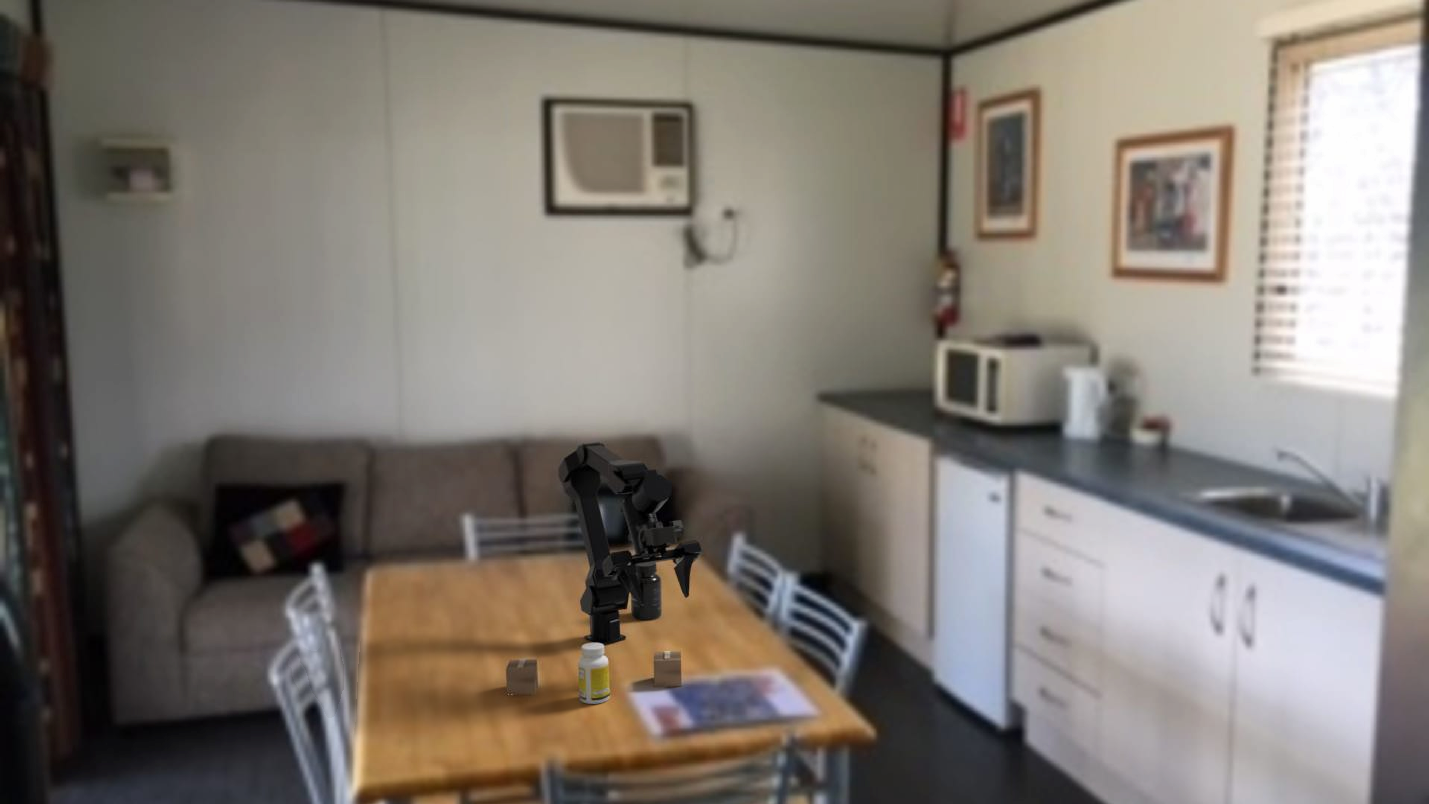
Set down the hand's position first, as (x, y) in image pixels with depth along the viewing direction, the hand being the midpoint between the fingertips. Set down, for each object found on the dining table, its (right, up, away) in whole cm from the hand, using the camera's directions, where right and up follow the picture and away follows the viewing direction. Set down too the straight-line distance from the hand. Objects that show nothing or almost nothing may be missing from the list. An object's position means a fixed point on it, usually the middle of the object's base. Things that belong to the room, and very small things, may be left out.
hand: (665, 600), depth 213 cm
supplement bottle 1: (-12, -16, -8) cm, 22 cm away
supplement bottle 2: (-6, -11, +42) cm, 44 cm away
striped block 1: (-26, -16, -2) cm, 31 cm away
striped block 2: (+1, -15, 0) cm, 15 cm away
